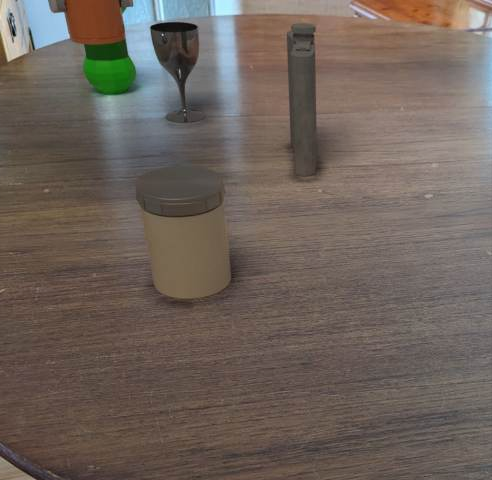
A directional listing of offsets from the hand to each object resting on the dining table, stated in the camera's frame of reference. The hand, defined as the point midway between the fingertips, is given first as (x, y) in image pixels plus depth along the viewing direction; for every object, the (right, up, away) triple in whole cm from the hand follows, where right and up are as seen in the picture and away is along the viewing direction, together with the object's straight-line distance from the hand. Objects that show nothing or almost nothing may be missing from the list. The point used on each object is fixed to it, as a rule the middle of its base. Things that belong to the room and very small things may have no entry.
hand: (92, 9), depth 84 cm
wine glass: (-3, +5, +49) cm, 49 cm away
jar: (+11, -31, +2) cm, 33 cm away
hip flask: (+21, -7, +35) cm, 41 cm away
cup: (0, -2, +2) cm, 3 cm away
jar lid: (+12, -22, -5) cm, 25 cm away
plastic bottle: (-20, +14, +60) cm, 64 cm away
